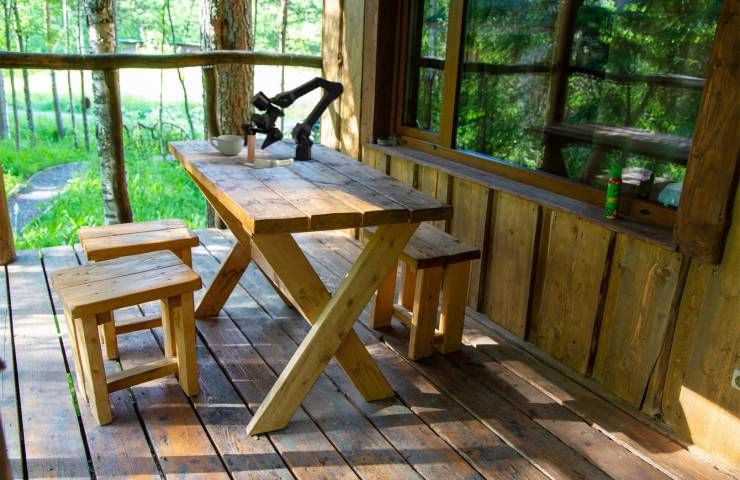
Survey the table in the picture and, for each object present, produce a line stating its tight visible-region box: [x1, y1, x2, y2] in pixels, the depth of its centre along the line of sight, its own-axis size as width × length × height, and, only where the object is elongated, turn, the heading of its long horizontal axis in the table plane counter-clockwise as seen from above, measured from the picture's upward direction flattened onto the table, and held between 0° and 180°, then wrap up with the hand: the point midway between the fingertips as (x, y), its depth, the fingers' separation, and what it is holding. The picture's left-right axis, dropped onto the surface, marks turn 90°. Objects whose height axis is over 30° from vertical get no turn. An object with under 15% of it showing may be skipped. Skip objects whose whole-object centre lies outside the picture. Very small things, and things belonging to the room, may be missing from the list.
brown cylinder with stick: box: [247, 135, 275, 165], centre depth 249 cm, size 12×3×11 cm, turn 72°
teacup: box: [209, 134, 243, 156], centre depth 268 cm, size 14×11×8 cm
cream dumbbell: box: [274, 158, 294, 168], centre depth 253 cm, size 9×2×2 cm, turn 135°
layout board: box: [234, 157, 291, 170], centre depth 255 cm, size 19×17×1 cm
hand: (252, 147), depth 250 cm, fingers open, 9 cm apart
